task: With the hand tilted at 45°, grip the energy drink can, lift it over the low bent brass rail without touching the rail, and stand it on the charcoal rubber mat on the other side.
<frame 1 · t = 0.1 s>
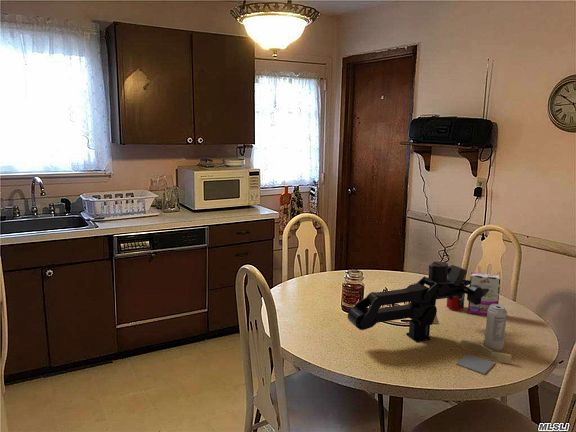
hand: (479, 285, 176), 16 cm above the table, tool horizontal, fingers open, 9 cm apart
candy bar box: (482, 314, 192), on the table
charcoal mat: (475, 364, 152), on the table
bent brass rail: (484, 355, 158), on the table
energy drink can: (493, 347, 164), on the table
beverage can: (454, 308, 198), on the table
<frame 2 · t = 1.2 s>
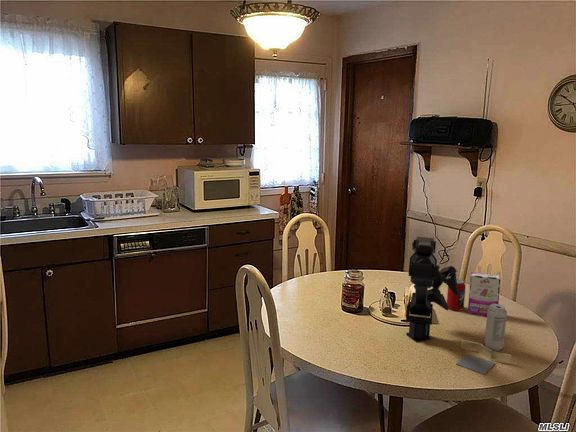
hand: (452, 302, 176), 11 cm above the table, tool tilted 40°, fingers open, 9 cm apart
nothing on the table moved.
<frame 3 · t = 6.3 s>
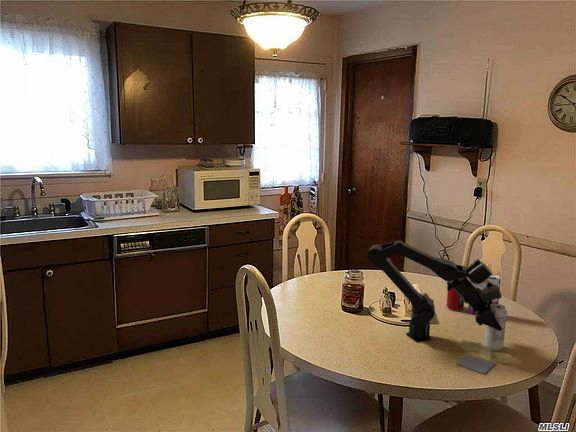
hand: (500, 326, 162), 8 cm above the table, tool tilted 45°, fingers closed on energy drink can, 6 cm apart
energy drink can: (493, 347, 164), on the table, touching gripper
everything else where it was.
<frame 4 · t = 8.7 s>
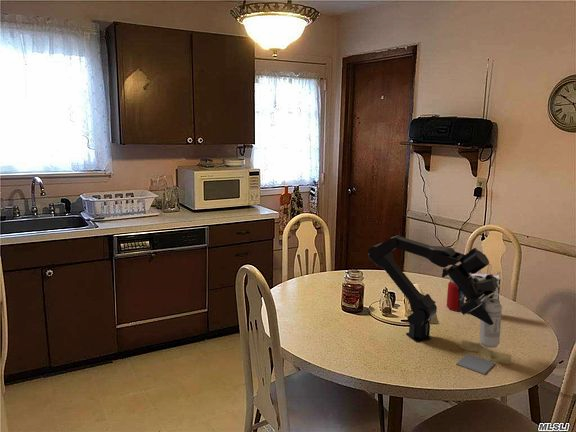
hand: (495, 321, 153), 13 cm above the table, tool tilted 45°, fingers closed on energy drink can, 6 cm apart
energy drink can: (489, 344, 155), point 5 cm above the table, touching gripper
everything else where it was.
when the fingers open (10 cm above the table, at t = 11.3 s): energy drink can stays where it is, resting on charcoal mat.
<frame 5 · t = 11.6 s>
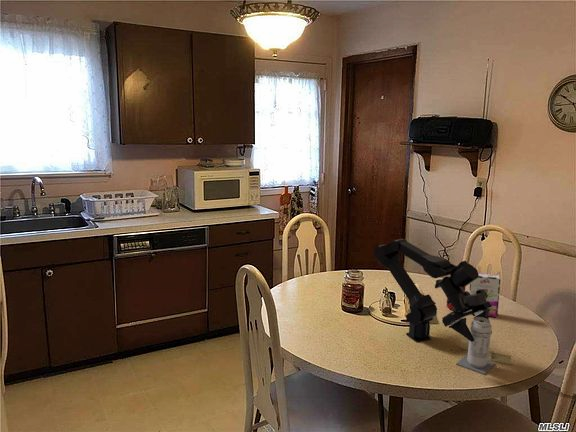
hand: (482, 337, 149), 10 cm above the table, tool tilted 45°, fingers open, 9 cm apart
energy drink can: (476, 364, 152), resting on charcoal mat
everything else where it was.
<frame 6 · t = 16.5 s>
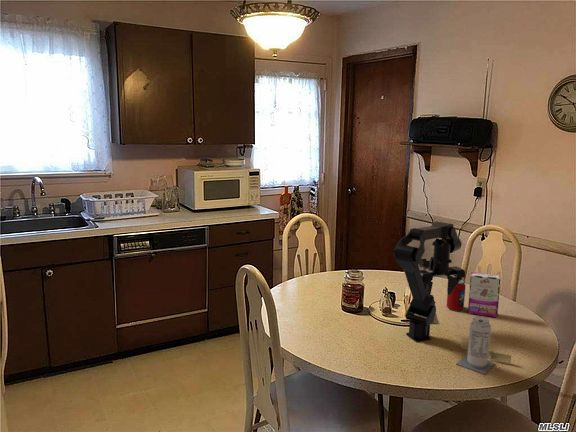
hand: (438, 295, 178), 12 cm above the table, tool pointing down, fingers open, 9 cm apart
nothing on the table moved.
at the end: energy drink can 0.6 cm off-centre on the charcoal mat, point 0.2 cm above the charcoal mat's base; energy drink can tilted 0°; bent brass rail moved 0.1 cm from its start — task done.
